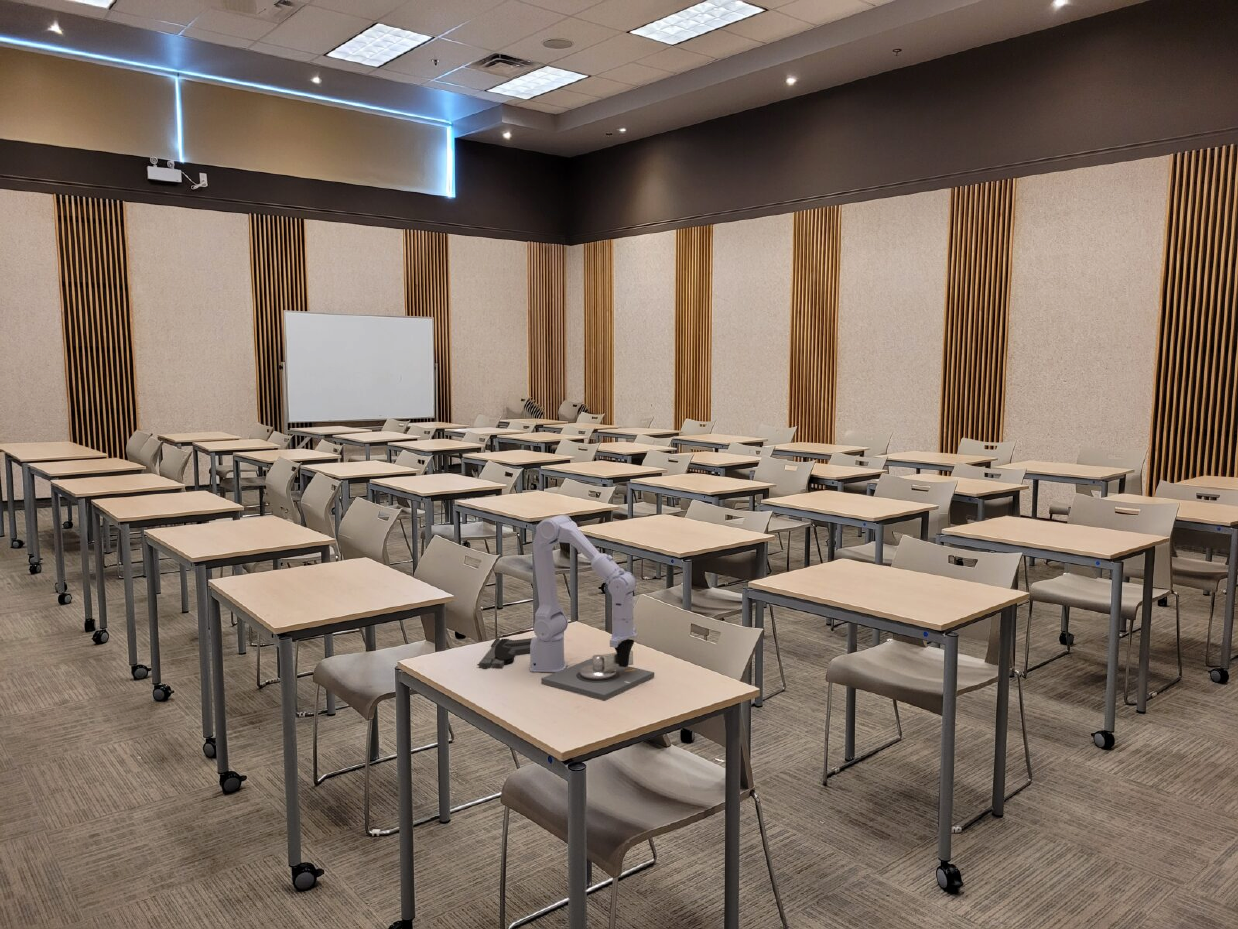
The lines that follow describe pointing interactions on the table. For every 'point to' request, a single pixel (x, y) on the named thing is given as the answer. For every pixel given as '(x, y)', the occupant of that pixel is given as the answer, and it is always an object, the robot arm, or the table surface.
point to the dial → (603, 666)
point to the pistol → (504, 652)
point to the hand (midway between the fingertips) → (623, 666)
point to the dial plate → (597, 681)
